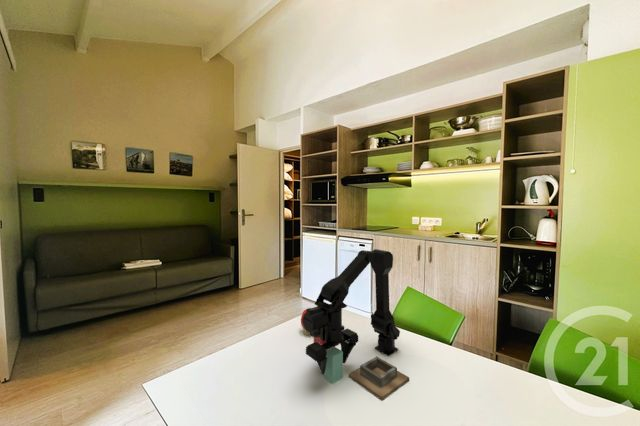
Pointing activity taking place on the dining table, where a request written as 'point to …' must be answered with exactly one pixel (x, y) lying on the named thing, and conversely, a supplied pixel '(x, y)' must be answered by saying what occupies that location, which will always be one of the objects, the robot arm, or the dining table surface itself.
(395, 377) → the square socket base
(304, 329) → the apple
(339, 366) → the rail post
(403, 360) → the dining table surface
